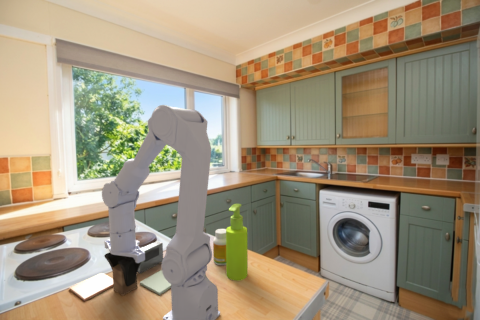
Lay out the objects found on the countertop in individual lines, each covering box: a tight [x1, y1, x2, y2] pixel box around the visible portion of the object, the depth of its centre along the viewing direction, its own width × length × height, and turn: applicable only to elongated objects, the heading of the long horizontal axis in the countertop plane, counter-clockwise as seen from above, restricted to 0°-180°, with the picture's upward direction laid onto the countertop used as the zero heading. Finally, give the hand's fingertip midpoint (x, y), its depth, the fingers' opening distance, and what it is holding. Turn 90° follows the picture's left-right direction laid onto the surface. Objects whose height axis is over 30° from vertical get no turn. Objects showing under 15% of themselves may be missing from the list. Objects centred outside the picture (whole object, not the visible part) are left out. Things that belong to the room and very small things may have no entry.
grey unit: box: [137, 240, 164, 275], centre depth 71 cm, size 3×8×6 cm, turn 147°
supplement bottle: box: [212, 228, 226, 266], centre depth 73 cm, size 5×5×10 cm
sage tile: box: [139, 269, 171, 296], centre depth 64 cm, size 8×8×1 cm
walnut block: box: [111, 265, 138, 297], centre depth 60 cm, size 4×4×6 cm
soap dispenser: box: [225, 203, 249, 282], centre depth 65 cm, size 6×7×20 cm
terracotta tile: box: [69, 272, 114, 302], centre depth 61 cm, size 8×8×1 cm
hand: (125, 281), depth 61 cm, fingers open, 4 cm apart
